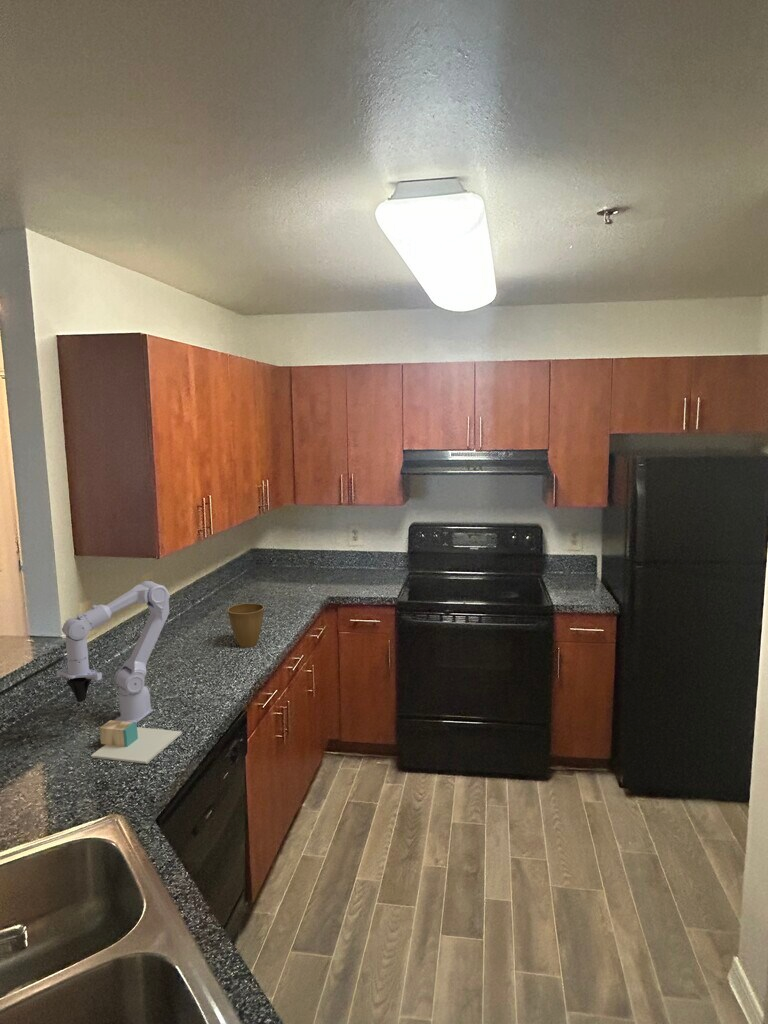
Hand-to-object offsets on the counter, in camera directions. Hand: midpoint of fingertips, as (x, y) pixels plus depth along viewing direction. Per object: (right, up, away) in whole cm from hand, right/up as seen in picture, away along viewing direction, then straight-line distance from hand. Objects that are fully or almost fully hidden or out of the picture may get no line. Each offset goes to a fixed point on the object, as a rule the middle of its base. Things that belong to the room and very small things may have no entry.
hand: (81, 700), depth 200 cm
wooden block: (+10, -8, -5) cm, 13 cm away
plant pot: (+35, +1, +77) cm, 84 cm away
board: (+20, -11, -8) cm, 24 cm away
